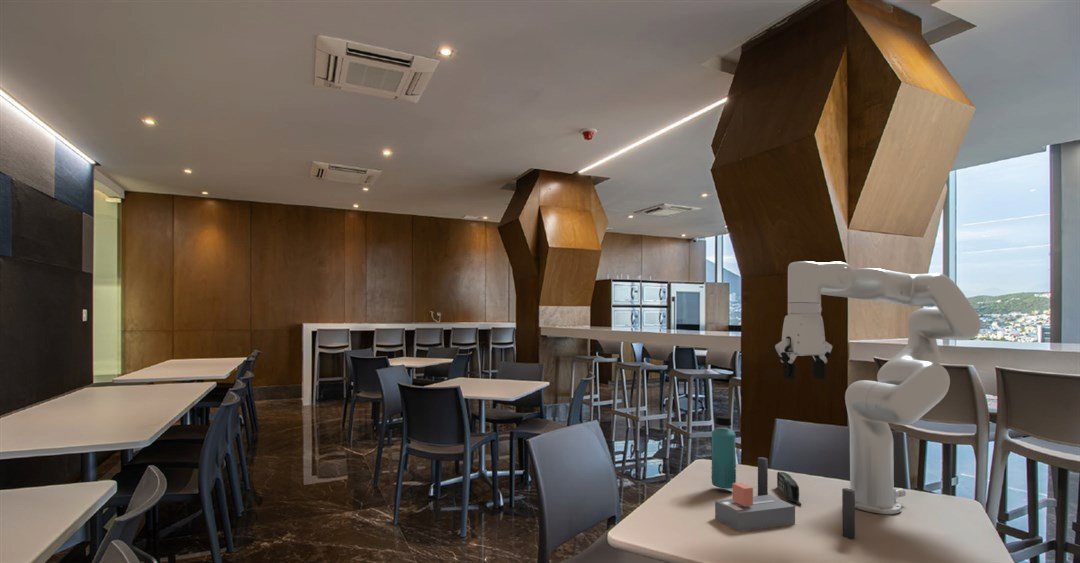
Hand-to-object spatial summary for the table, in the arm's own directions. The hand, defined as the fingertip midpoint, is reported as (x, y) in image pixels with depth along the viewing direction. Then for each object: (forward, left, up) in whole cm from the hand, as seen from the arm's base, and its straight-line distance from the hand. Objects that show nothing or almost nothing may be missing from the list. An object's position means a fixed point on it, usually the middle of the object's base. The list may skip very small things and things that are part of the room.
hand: (804, 378), depth 134 cm
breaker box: (+17, +2, -32) cm, 37 cm away
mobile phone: (-4, -10, -33) cm, 34 cm away
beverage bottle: (+10, -18, -32) cm, 38 cm away
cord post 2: (+3, +15, -32) cm, 36 cm away
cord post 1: (+3, -11, -32) cm, 34 cm away
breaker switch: (+20, +2, -28) cm, 35 cm away
